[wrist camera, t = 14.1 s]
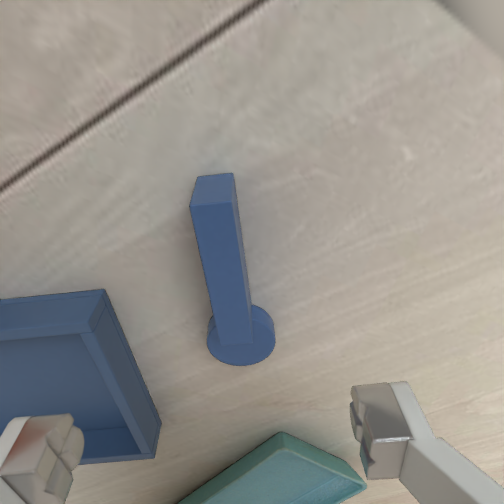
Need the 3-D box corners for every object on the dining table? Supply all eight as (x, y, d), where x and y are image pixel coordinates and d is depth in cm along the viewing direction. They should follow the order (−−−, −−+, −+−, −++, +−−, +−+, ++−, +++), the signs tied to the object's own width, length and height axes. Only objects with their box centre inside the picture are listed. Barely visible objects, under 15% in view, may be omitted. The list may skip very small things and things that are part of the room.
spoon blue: (172, 179, 15) (159, 208, 13) (258, 169, 15) (261, 197, 13) (214, 353, 22) (210, 396, 19) (275, 347, 21) (280, 390, 19)
